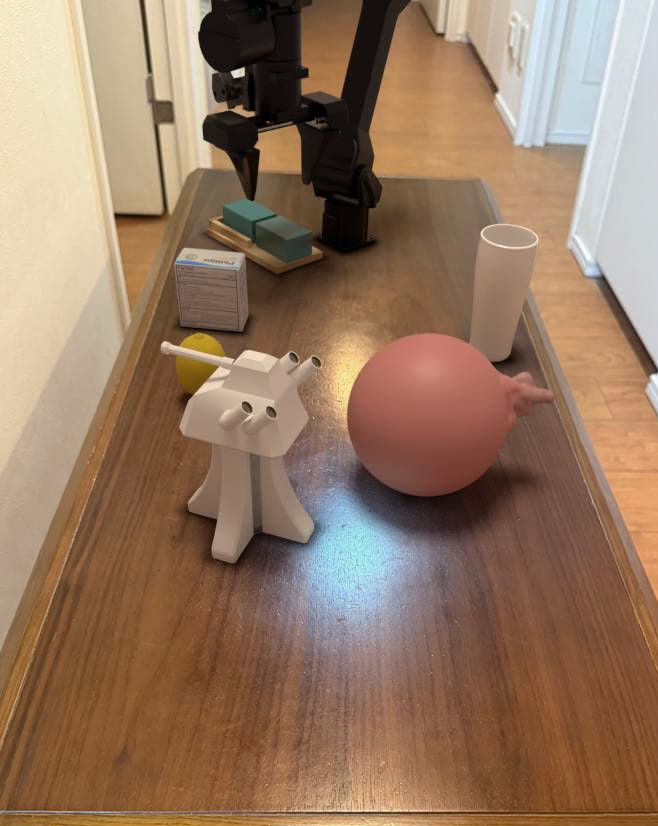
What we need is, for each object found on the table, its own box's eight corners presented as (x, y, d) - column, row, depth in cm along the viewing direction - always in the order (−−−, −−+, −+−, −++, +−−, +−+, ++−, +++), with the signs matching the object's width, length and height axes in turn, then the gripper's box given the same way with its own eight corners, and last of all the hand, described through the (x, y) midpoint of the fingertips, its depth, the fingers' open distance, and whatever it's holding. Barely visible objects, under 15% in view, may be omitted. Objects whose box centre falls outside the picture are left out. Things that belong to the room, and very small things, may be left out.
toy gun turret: (210, 465, 85) (194, 302, 72) (332, 497, 82) (338, 334, 70) (151, 540, 76) (123, 369, 64) (285, 578, 74) (283, 409, 61)
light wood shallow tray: (206, 234, 125) (204, 205, 122) (252, 220, 129) (251, 191, 126) (276, 274, 116) (276, 243, 113) (322, 258, 121) (323, 228, 118)
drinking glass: (522, 347, 105) (547, 231, 95) (506, 372, 101) (530, 253, 90) (472, 334, 107) (490, 218, 97) (454, 358, 102) (471, 239, 92)
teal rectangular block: (277, 236, 123) (276, 213, 121) (252, 244, 121) (251, 221, 118) (247, 220, 127) (247, 198, 124) (223, 228, 124) (222, 205, 122)
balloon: (555, 527, 81) (594, 392, 70) (349, 530, 79) (357, 392, 68) (520, 433, 92) (549, 304, 81) (339, 434, 90) (345, 302, 79)
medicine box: (249, 316, 107) (246, 251, 101) (242, 334, 104) (239, 268, 98) (188, 310, 108) (182, 245, 102) (180, 327, 104) (173, 261, 98)
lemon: (189, 416, 91) (182, 351, 85) (172, 390, 94) (165, 326, 89) (236, 405, 93) (233, 341, 87) (219, 379, 96) (214, 316, 91)
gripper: (293, 30, 105) (294, 159, 116) (169, 50, 95) (181, 188, 106) (353, 50, 100) (348, 183, 110) (227, 73, 90) (235, 217, 101)
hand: (278, 192), depth 107 cm, fingers open, 9 cm apart
